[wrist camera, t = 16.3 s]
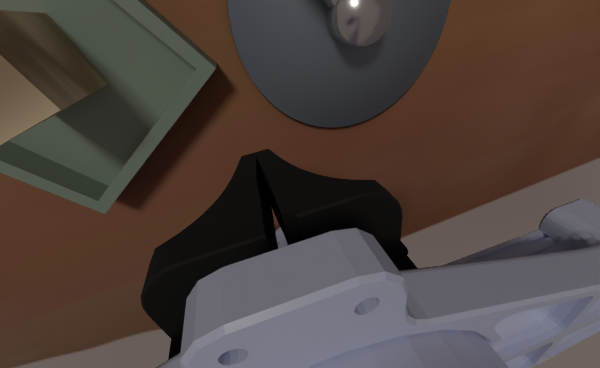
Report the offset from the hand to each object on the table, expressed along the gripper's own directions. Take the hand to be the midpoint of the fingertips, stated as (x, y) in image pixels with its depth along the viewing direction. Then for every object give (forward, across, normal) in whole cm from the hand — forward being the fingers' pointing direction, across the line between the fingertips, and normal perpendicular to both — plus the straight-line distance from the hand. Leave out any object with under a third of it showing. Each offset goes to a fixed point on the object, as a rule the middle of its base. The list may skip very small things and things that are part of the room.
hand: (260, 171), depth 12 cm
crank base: (+9, -9, -5) cm, 14 cm away
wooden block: (+9, +10, -5) cm, 14 cm away
